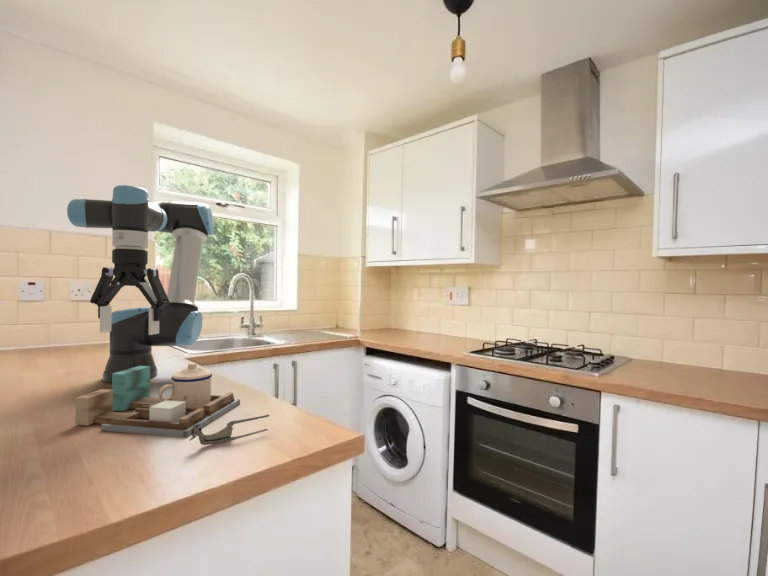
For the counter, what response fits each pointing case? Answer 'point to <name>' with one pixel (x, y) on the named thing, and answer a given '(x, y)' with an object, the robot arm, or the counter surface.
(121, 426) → the lane rails
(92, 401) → the sled
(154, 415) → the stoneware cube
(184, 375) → the teacup with lid
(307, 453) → the counter surface
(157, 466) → the counter surface
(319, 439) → the counter surface
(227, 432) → the nutcracker
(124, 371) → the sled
